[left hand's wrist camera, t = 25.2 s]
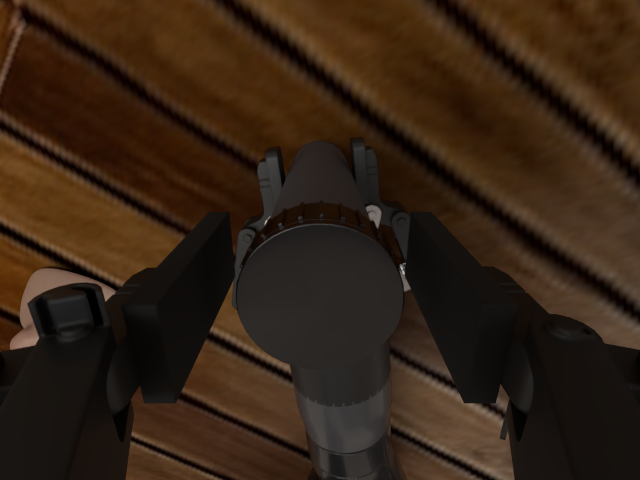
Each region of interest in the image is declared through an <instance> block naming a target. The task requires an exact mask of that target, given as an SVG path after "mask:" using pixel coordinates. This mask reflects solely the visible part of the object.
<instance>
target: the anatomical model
mask: <svg viewBox="0 0 640 480" xmlns="http://www.w3.org/2000/svg"><path fill="white" fill-rule="evenodd" d="M83 282H88V283H96V284H98V285H99V286H101V287H102V290H103V294H104V298H105V302H106V301H107V300H108V299H109V298H110V297H111V296H112V295H113V294H115V292H116V290H114V289H112V288H111V287H109V286H107V285H105V284H103V283H101V282H99V281H96V280H94V279H91V278H89V277H86V276H83V275H80V274H76V273H73V272H69V271H65V270H60V269H54V268H43V269H39V270H37V271H36V272H35V273H34V274H33V275H32V276H31V278H30V279H29V281H28V284H27V286H26V289H25V292H24V294H23V297H22V302H21V309H20V321H21V324H22V326H23V328H24V329H23V330H22V331H20V332H19V333H18V334H17V335H16V336H15V337H14V338H13V339H12V341H11V343H10V349H11V350H12V349H18V348H23V347H29V346H34V345H35V344H36V343H37V341H38V339H39V336H38V333H37V331H36V328H35V325H34V322H33V319H32V316H31V314H30V311H29V308H28V305H27V303H28V302H30V301H31V300H32V299H33V298H34V297H36V296H37V295H39V294H41V293H43V292H45V291H47V290H50V289H53V288H56V287H59V286H63V285H67V284H72V283H83Z"/></svg>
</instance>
